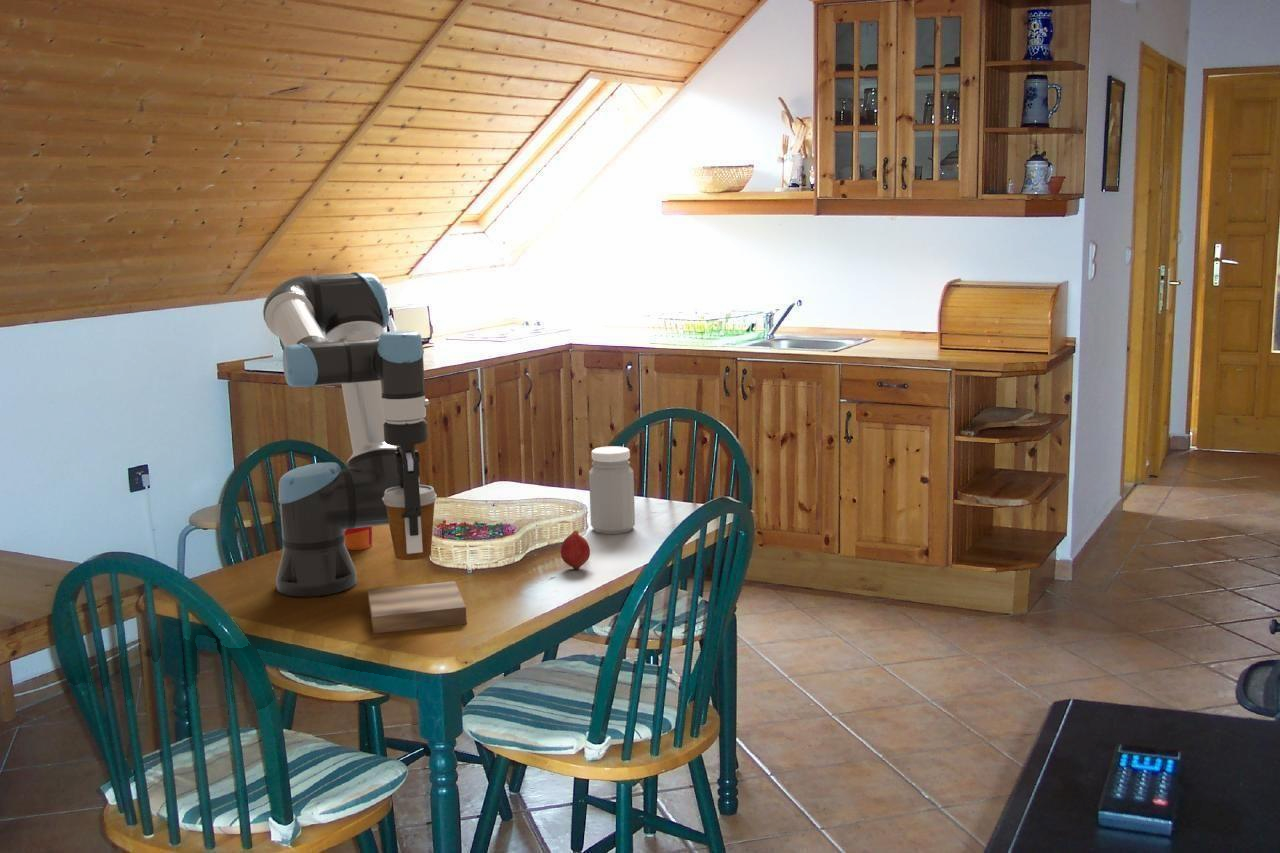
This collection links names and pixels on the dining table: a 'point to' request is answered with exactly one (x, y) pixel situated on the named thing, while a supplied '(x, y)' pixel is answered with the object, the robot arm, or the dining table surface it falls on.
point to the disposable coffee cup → (397, 523)
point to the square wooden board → (416, 607)
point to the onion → (575, 550)
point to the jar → (611, 490)
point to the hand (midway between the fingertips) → (412, 545)
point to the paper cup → (358, 538)
